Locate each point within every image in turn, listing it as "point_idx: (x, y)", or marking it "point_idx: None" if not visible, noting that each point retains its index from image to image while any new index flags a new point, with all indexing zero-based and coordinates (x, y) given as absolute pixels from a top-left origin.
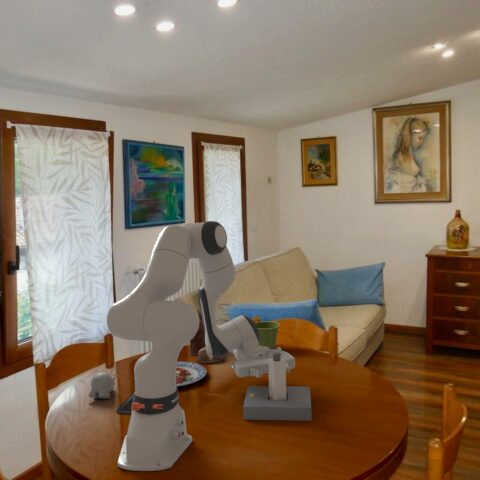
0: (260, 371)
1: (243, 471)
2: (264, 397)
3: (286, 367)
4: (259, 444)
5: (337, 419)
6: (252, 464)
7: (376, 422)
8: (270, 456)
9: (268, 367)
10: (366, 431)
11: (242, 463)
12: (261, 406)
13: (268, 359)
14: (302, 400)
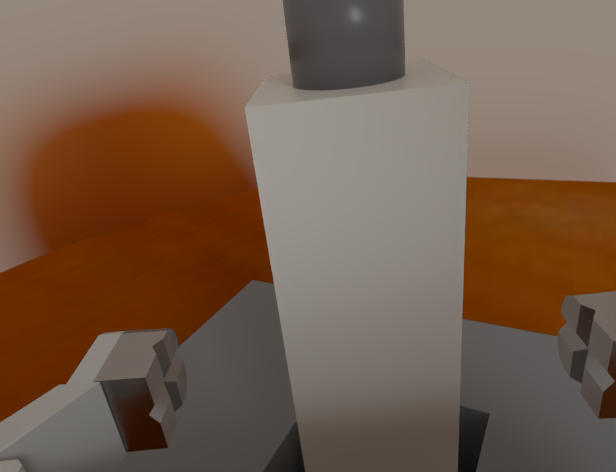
0: (601, 303)
1: (603, 188)
2: (518, 467)
3: (143, 332)
4: (555, 255)
5: (152, 326)
6: (577, 201)
7: (60, 286)
8: (515, 215)
9: (464, 219)
10: (148, 258)
11: (613, 205)
12: (552, 338)
13: (465, 84)
14: (236, 346)
